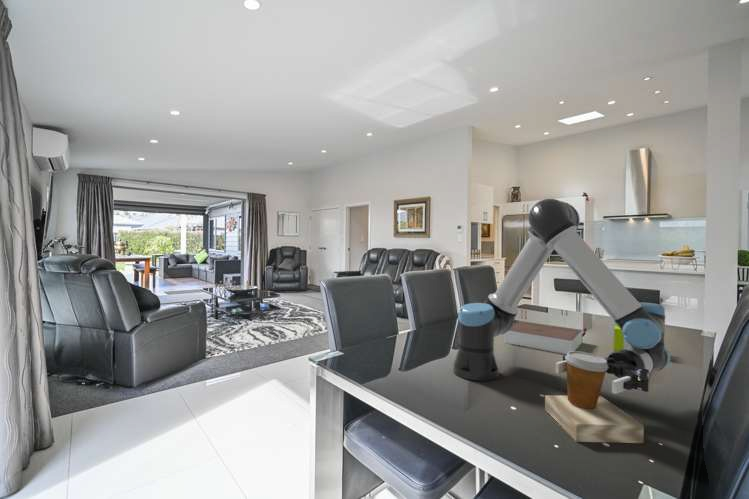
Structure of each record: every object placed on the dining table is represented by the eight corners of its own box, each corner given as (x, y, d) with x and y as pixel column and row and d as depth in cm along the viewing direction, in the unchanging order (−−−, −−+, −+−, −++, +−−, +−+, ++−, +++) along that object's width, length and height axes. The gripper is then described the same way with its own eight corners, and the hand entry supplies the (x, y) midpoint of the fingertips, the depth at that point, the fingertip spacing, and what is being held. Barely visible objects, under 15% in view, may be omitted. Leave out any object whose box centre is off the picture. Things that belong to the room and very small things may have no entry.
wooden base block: (576, 441, 78) (576, 424, 78) (544, 410, 93) (545, 395, 93) (643, 443, 78) (643, 425, 78) (601, 411, 93) (601, 396, 93)
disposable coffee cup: (592, 397, 93) (597, 352, 92) (611, 415, 83) (617, 365, 83) (554, 392, 94) (559, 348, 93) (569, 409, 84) (575, 360, 84)
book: (519, 333, 177) (519, 320, 177) (582, 344, 159) (582, 329, 159) (502, 343, 158) (502, 329, 158) (571, 357, 140) (572, 340, 140)
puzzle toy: (643, 357, 140) (644, 332, 140) (613, 352, 146) (614, 328, 146) (643, 351, 148) (644, 327, 148) (614, 346, 154) (615, 324, 154)
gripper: (687, 394, 83) (642, 414, 73) (582, 363, 105) (537, 375, 95) (687, 363, 83) (643, 379, 73) (583, 338, 105) (537, 348, 95)
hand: (583, 377), depth 84 cm, fingers open, 13 cm apart
